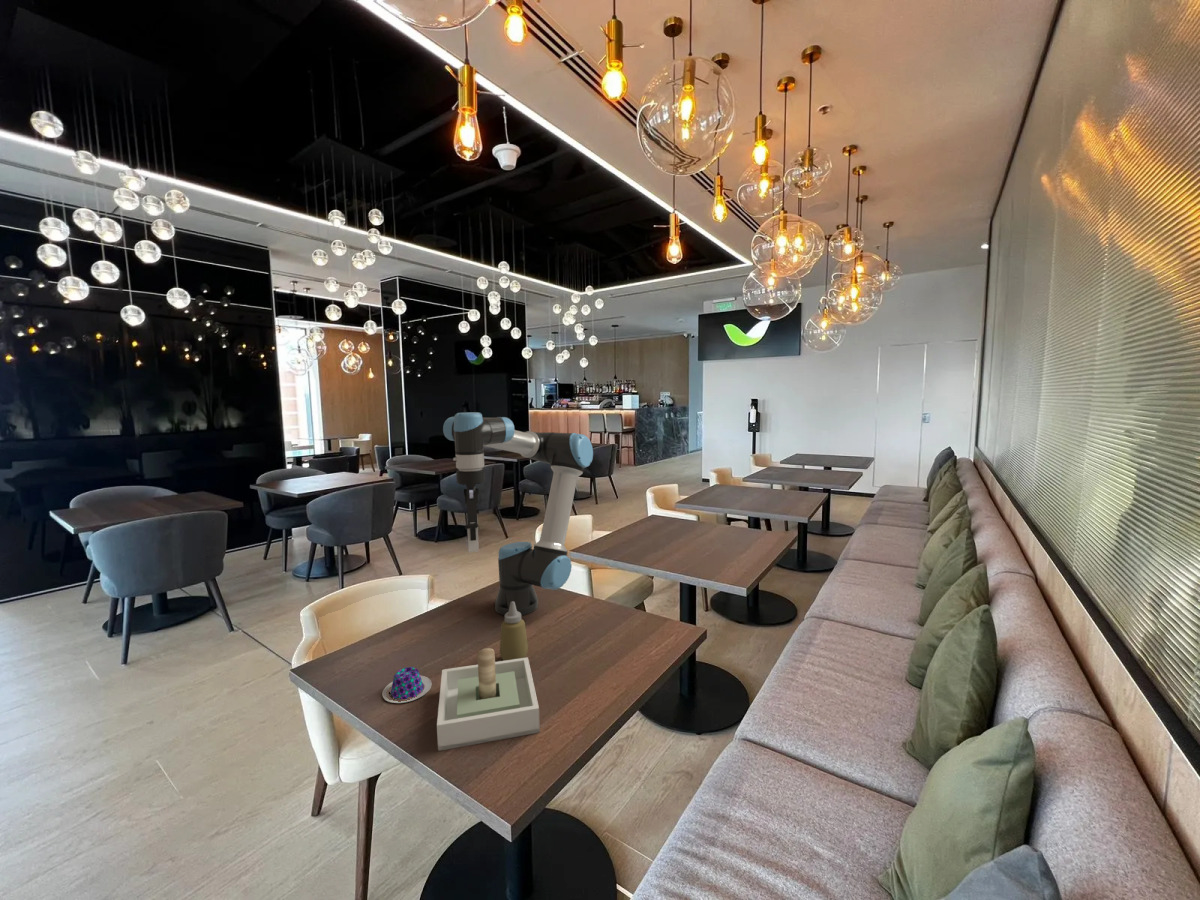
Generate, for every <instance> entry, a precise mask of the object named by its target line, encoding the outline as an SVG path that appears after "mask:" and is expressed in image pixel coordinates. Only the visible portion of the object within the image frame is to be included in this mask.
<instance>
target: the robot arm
mask: <svg viewBox="0 0 1200 900" xmlns="http://www.w3.org/2000/svg"><path fill="white" fill-rule="evenodd" d="M442 427H443V428H442V431H443V435H444V437H445V438H446V439H447V440H449V441H453V442H454V451H455V452H454V453H455V457H453V458H452V461H454V462H455V468H456V469H457V470H456V472H455V477H456V483H457V484H458V485H460V486H466V488H464V489H463V498H464V506H466V512H467V514H466V515H467V525H464V529H465V530H467V547H468V549H467V550H468V553H474V552H475V553H477V552H480V546H479V545H480V543H479V523H478V514H480V510H479V509H478V508H477V506H479V496H480V495H479V493H480V492H479V488H478V487H477V488H476V485H479V484H483V483H485V480H486V478H485V477H486V475H485V469H484V467H485V452H484V450H485V449H484V447H487V448H493V449H496V450H497V449H498V450H502V451H505V452H510V453H511V452H512V453H517V454H519V455H521V457H523V458H527V459H530V460H534V461H537V462H540V463H545V464H549V465H550V468H551V470H552V472H553V475H552V480H551V484H550V490H549V495H548V499H547V504H546V509H545V514H544V519H543V522H542V523H543V524H542V528H541V532H540V537H539V541H537V542H536V543H535V544H533V545H534V546H533V545H532V543H531V542H529V541H515V542H512V543H507V544H505V545H502V546H501V547H500V548H499V550H498V557H497V561H498V581H499V587H498V592H497V596H496V599H495V602H494V603H495V604H494V607H495V612H496V613H498V614H500V615H501V616H505V614H506V613H507V612H509V607H510V602H512V601H514V602H515V606H516V609H517V611H518V612H520V613H521V616H525V615H528V614H531V613H533V612H535V611H536V610H537V609H538V607H539V600H538V596H537V593H536V590H535V588H534V586H535V587H539V588H542V589H545V590H546V589H548V590H551V591H552V590H559V589H561V588H562V587H563V586H564V585H565V584H566V583H567V581H568V580H569V579H570V575H571V572H572V568H573V567H572V560H571V558H570V557H569V556H568V549H567V548H566V546H565V543H566V539H567V533H568V532H567V531H568V528H569V522H570V519H571V513H572V507H573V503H574V497H575V493H576V487H577V482H578V478H579V477H580V476H581V475H583V473H584V469H585V468H587V467H589V466H590V465H591V463H592V462H593V457H594V448H593V445H592V442H591V440H590V438H589V437H588V436H586V435H585V434H582V433H576V432H571V433H570V432H555V431H554V432H551V431H550V432H535V431H532V430H531V431H529V430H528V431H521V430H516V429H515V425H514V422H513V420H511V419H510V418H509V417H506V416H502V417H501V416H497V417H483V414H482V413H481V412H478V411H477V412H476V411H475V412H474V411H473V412H471V411H470V412H468V411H467V412H457V413H456V414H454V416H451V417H448V418H447V419H446V420H445V421H444V423H443V426H442ZM532 548H533V549H532Z"/></svg>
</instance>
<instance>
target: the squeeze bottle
mask: <svg viewBox="0 0 1200 900" xmlns="http://www.w3.org/2000/svg"><path fill="white" fill-rule="evenodd" d="M499 640H500V641H499V653H500V656H501V659H502V661H506V660H513V659H519V658H526V657H527V654H528V652H529V644H528V638H527V630H526V623H525V620H524V619H522V615H521V613H520V612H518V611H517V609H516V606H515V602H514V601H512V602H510V607H509V612H507V613H506V614H505V615H504V620H503V621H502V623H501V627H500V639H499Z"/></svg>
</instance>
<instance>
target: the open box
mask: <svg viewBox="0 0 1200 900" xmlns="http://www.w3.org/2000/svg"><path fill="white" fill-rule="evenodd" d="M512 671H514V672H515V679H516V685H517V691H518V698H519V704H520V708H517V709H511V710H505V711H499V712H493V713H487V714H481V715H475V716H469V717H464V718H458V719H457V698H458V680H459V679H466V678H473V677H478V664H472V665H466V666H458V667H452V668H445V669H441V677H440V678H441V679H440V689H439V690H440V691H439V702H438V708H437V719H436V733H437V734H436V735H437V738H436V739H437V750H438V751H437V752H440V751H446V750H451V749H453V750H454V749H457V748H462V747H463V748H464V747H469V746H474V745H479V744H484V743H485V744H486V743H490V742H495V741H501V740H507V739H510V738H516V737H517V738H518V737H522V736H527V735H529V736H530V735H534V734H539V733H540V731H541V730H540V728H541V727H540V707H539V706H540V705H539V702H538V698H537V694H536V693H537V692H536V688H535V683H534V680H533V675H532V670H531V666H530V660H529V657H527V656H526V658H519V659H513V660H506V661H503V660H498V661H495V674H499V673H506V672H512Z"/></svg>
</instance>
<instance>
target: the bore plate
mask: <svg viewBox="0 0 1200 900" xmlns="http://www.w3.org/2000/svg"><path fill="white" fill-rule="evenodd" d="M495 675H496V697H494V698H488V699H481V700H480V699H479V678H478V677H473V678H466V679H459V680H458V698H457V719H458V718H464V717H469V716H475V715H481V714H487V713H493V712H499V711H505V710H511V709H517V708H520V704H519V698H518V691H517V685H516V679H515V672H514V671H512V672H506V673H499V674H495Z"/></svg>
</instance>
